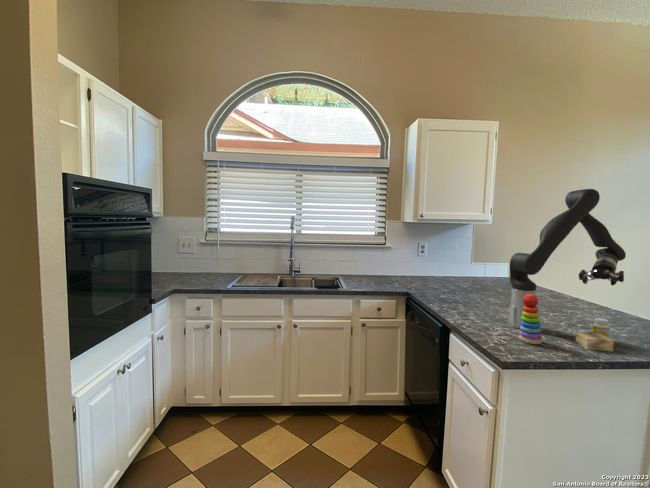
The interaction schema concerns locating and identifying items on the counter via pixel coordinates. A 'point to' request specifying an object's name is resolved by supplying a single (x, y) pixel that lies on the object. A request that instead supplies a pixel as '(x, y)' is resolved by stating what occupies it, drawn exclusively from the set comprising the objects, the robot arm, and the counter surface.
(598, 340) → the oak block
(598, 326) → the supplement bottle
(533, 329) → the stacking toy
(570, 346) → the counter surface
